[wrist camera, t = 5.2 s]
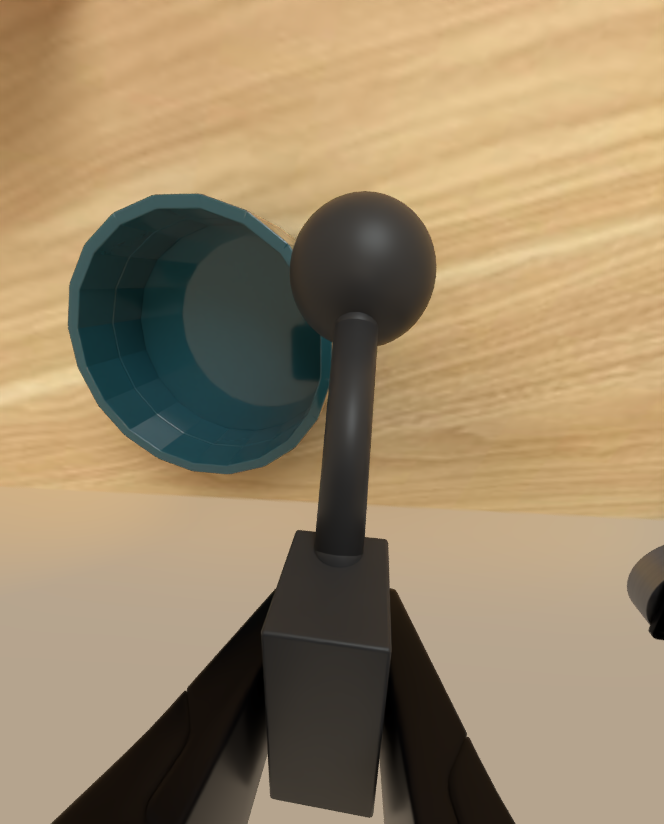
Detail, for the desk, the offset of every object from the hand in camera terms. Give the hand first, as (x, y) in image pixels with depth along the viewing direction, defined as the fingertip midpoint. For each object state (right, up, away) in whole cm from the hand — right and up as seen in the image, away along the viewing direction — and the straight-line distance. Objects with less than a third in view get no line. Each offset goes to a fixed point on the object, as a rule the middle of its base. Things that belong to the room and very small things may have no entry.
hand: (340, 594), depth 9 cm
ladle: (+1, +5, +3) cm, 6 cm away
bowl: (-5, +9, +11) cm, 15 cm away
